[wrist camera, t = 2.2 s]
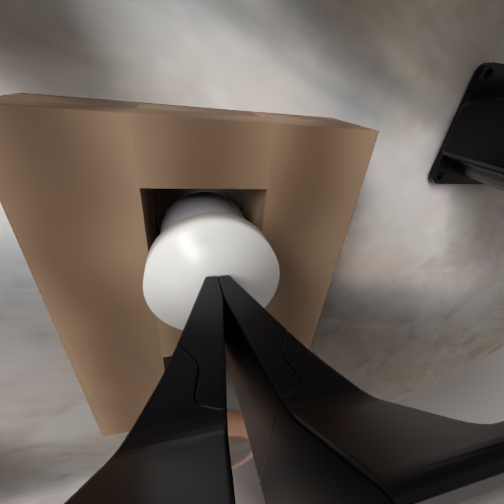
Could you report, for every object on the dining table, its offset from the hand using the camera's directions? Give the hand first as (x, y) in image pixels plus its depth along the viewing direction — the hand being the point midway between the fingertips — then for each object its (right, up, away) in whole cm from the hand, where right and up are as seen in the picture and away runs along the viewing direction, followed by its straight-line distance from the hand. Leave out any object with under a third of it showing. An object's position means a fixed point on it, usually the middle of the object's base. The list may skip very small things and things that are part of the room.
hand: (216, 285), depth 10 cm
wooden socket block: (-2, 0, +8) cm, 9 cm away
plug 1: (-1, +2, +3) cm, 4 cm away
